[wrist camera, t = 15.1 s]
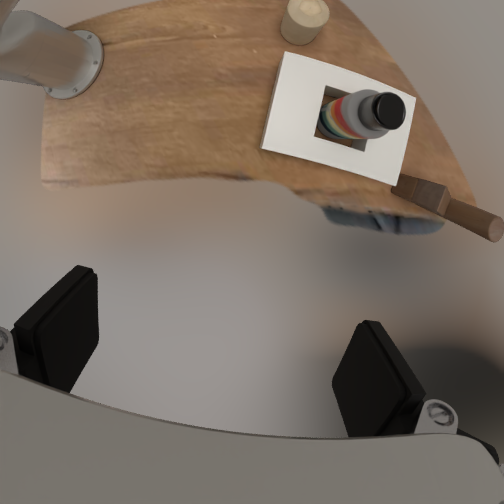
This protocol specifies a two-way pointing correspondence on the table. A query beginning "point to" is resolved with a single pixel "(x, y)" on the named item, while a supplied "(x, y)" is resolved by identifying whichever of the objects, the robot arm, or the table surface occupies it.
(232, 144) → the table surface
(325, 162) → the bottle caddy
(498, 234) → the brown block with handle
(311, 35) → the candle
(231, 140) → the table surface
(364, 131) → the lotion bottle
